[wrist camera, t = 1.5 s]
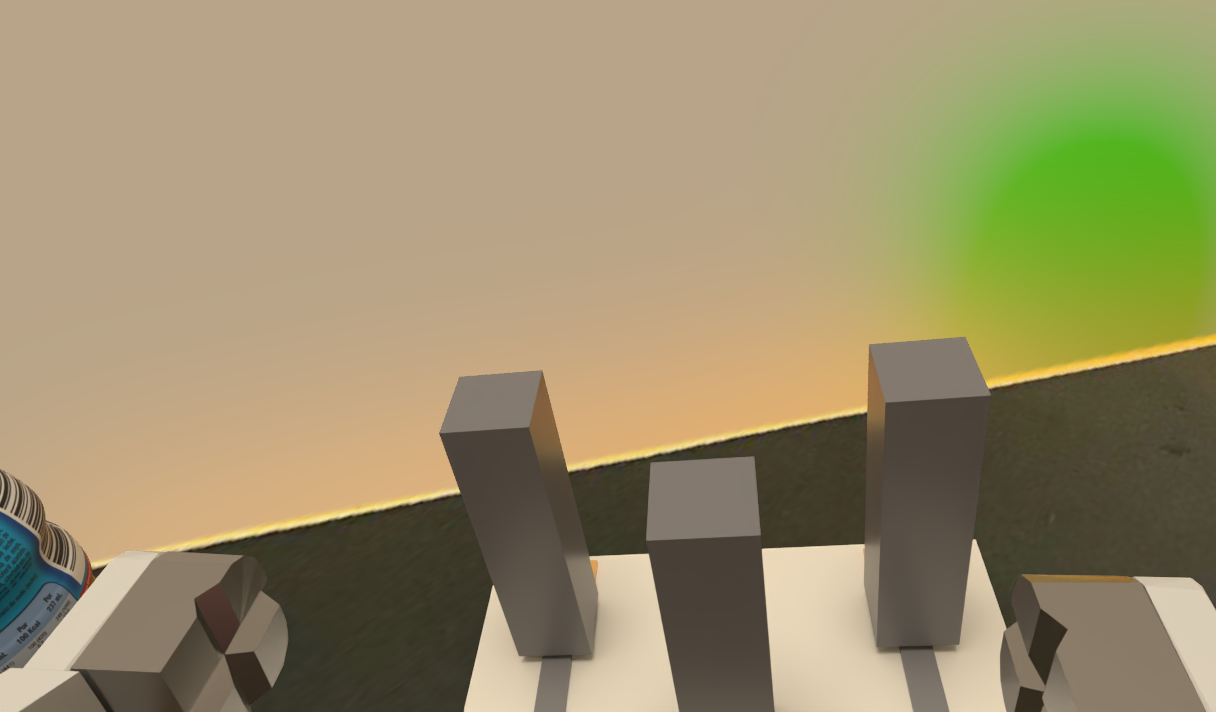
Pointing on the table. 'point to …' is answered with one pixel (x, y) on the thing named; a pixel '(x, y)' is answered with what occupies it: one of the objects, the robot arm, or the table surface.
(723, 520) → the grey rectangular pillar
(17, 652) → the beverage bottle
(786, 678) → the switch bank
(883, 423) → the tall grey switch
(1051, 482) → the table surface
